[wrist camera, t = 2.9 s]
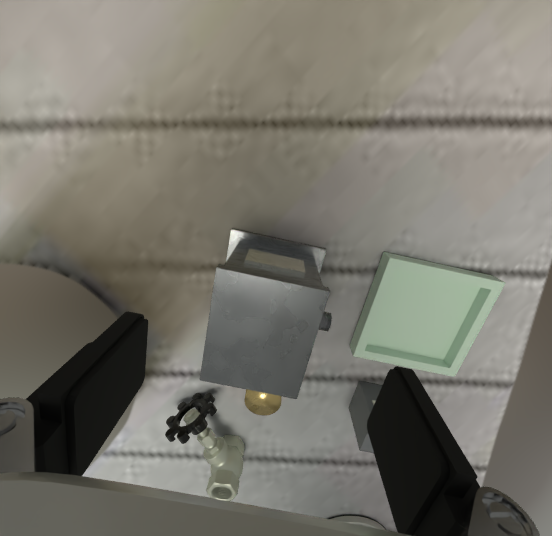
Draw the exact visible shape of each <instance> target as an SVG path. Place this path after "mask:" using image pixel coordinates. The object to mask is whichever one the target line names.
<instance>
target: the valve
mask: <svg viewBox="0 0 552 536" xmlns="http://www.w3.org/2000/svg"><path fill="white" fill-rule="evenodd" d="M192 399H193V400H192V401H191V402H190V403H188V404H186V403H185V402H182V403H180V404H179V405H178V407H177V408H178V410H179V412H178V414H177V415H176V416H171V417H169V418H168V419H167V421H166V424H167V425H168V426H169V428H170V429H169V430H167V432H166V434H165V436H166V437H167V438H168V440H169V441H170V442H172V441H174V440H175V437H174V436H175V434H177V433H178V434H177V438H178V439H179V441H180V442H181V443H182V444H184V443H186V442H187V441H188V440H189V438H190V437H189V436H188V434H189V433H191V432H192V434H194V435H198V438H197V440H198V441H199V442H200V444H201V445H202V446H204V447H205V450H204V458H205V459H206V460H207V462H208V463H209V464H211V477H210V478H209V482H208V486H207V490H206V491H207V493H208V495H209V496H210V498H214V499H219V500H225V501H231V500H233V499H234V498H235V496H236V495H237V494H238V487H239V478H240V476H241V474H242V470H243V459H242V456H243V454H244V447H245V445H244V443H243V442H242V440H241V439H240V437H239V436H233V435H225V436H224V437H223V438H222V437H217V438H215V434H214V433H213V431H212V430H211V429H210V428H207V425H208V424H207V421H206V420H205V417H206V416H207V414H209V413H210V415H211V416H213V415H214V414H215V413H216V411H217V409H216V407H215V406H214V404H213V402H214V401H215V398H214V397H213V395H212V394H211V393H208V394H206V395H205V396H204V398H203V397H202V395H201V394H200V393H196V394H195V395H194V396H193V397H192ZM210 401H211V402H212V403H209V402H210ZM208 403H209V404H208ZM194 407H195V408H196V409H197V410H196V409H192V408H194ZM190 409H192V410H190ZM189 410H190V411H189ZM185 414H186V415H185ZM184 415H185V417H184V421H185V422H186V426H183V427H180V426H179V425H180V421H181V419H182V417H183V416H184Z"/></svg>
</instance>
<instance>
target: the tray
mask: <svg viewBox="0 0 552 536" xmlns="http://www.w3.org/2000/svg"><path fill="white" fill-rule="evenodd" d="M504 285H505V282H503V281H501V280H499V279H498V278H496V277H494V276H492V275H487V274H483V273H478V272H474V271H469V270H465V269H460V268H455V267H451V266H446V265H442V264H437V263H433V262H428V261H423V260H419V259H414V258H410V257H405V256H401V255H396V254H391V253H387V252H383V255H382V258H381V260H380V263H379V266H378V269H377V271H376V274H375V277H374V280H373V282H372V285H371V288H370V291H369V293H368V296H367V299H366V302H365V304H364V307H363V310H362V313H361V316H360V318H359V321H358V324H357V327H356V329H355V332H354V335H353V338H352V340H351V343H350V348H351V351H352V354H353V356H354V357H359V358H364V359H369V360H374V361H379V362H384V363H389V364H394V365H399V366H403V367H408V368H413V369H418V370H423V371H428V372H433V373H438V374H443V375H448V376H452V377H455V375H456V373H457V372H458V370H459V368H460V366H461V364H462V362H463V361H464V359H465V357H466V355H467V353H468V351H469V350H470V348H471V346H472V344H473V342H474V340H475V338H476V337H477V335H478V333H479V331H480V329H481V327H482V326H483V324H484V322H485V320H486V318H487V316H488V314H489V313H490V311H491V309H492V307H493V305H494V303H495V302H496V300H497V298H498V296H499V294H500V292H501V291H502V289H503V287H504Z"/></svg>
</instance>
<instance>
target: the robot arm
mask: <svg viewBox="0 0 552 536" xmlns="http://www.w3.org/2000/svg"><path fill="white" fill-rule="evenodd" d="M147 332H148V320H147V319H144V315H143V314H138V313H133V312H125V313H124V314H123V315H122V316H121V317H120V318H119V319H117V321H115V322H114V323H113V324H112V325H111V326H110V327H109V328H108V329H107V330H106V331H104V332H103V334H101V335H100V336H99V337H98V338H97V339H96V340H95V341H94V342H91V343H88V344H87V345H85V346H84V347H83V348H82V349H81V350H80V351H79V352H78V353H76V354H75V355H74V356H73V357H72V358H71V359H70V360H69V361H68V362H66V363H65V364H64V365H63V366H62V367H61V368H60V369H59V370H58V371H56V372H55V373H54V374H53V375H52V376H51V377H50V378H49V379H48V380H47V381H45V382H44V383H43V384H42V385H41V386H40V387H39V388H38V389H37V390H35V391H34V392H33V393H32V394H31V395H30V396H29V397H28V398H27V399H23V398H19V397H16V398H15V397H8V398H3V399H0V536H540V534H539V531H538V529H537V528H536V526H535V524H534V522H533V521H532V519H531V518H530V517H529V515H528V514H527V513H526V512H525V511H524V510H523V509H522V508H521V507H520V506H519V504H517V503H516V502H515V501H514V500H513V499H511V498H510V497H509V496H507V495H506V494H504V493H502V492H501V491H499V490H497V489H494V488H491V487H484V486H483V487H481V488H480V486H479V484H478V483H477V481H476V478H477V475H476V473H475V472H474V470H473V468H472V467H471V465H470V463H469V462H468V460H467V458H466V457H465V455H464V454H463V452H462V450H461V449H460V447H459V445H458V444H457V442H456V440H455V439H454V437H453V435H452V434H451V432H450V430H449V429H448V427H447V425H446V424H445V422H444V420H443V419H442V417H441V415H440V414H439V412H438V411H437V409H436V407H435V406H434V404H433V402H432V401H431V399H430V397H429V396H428V394H427V392H426V391H425V389H424V387H423V386H422V384H421V382H420V381H419V379H418V377H417V376H416V374H415V372H414V371H413V370H412V369H408V368H403V367H398V366H397V367H395V368H394V369H390V370H389V372H388V374H387V376H386V379H385V381H384V383H383V386H382V388H381V390H380V392H379V395H378V397H377V399H376V402H375V404H374V406H373V408H372V411H371V413H370V415H369V418H368V420H367V431H368V434H369V438H370V441H371V444H372V448H373V451H374V454H375V458H376V461H377V465H378V468H379V471H380V475H381V478H382V481H383V485H384V488H385V491H386V495H387V498H388V502H389V505H390V508H391V512H392V515H393V518H394V522H395V525H396V528H397V531H398V533H397V532H392V531H387V530H385V529H384V527H382V526H381V525H380V524H379V523H377V522H375V521H373V520H371V519H368V518H365V517H360V516H341V517H336V518H332V519H323V518H318V517H313V516H307V515H302V514H296V513H291V512H285V511H280V510H274V509H269V508H264V507H258V506H252V505H247V504H241V503H236V502H230V501H225V500H219V499H214V498H208V497H202V496H197V495H191V494H185V493H180V492H174V491H168V490H162V489H157V488H151V487H145V486H140V485H134V484H128V483H122V482H115V481H109V480H102V479H96V478H89V477H83V476H82V475H83V474H84V472H85V471H86V469H87V468H88V466H89V465H90V463H91V462H92V460H93V459H94V457H95V456H96V454H97V453H98V451H99V450H100V448H101V447H102V445H103V444H104V442H105V440H106V439H107V437H108V436H109V434H110V433H111V431H112V430H113V428H114V427H115V425H116V424H117V422H118V421H119V419H120V417H121V416H122V415H123V413H124V412H125V410H126V409H127V407H128V405H129V404H130V402H131V401H132V399H133V398H134V396H135V395H136V393H137V392H138V390H139V389H140V387H141V386H142V383H143V381H144V377H145V364H146V348H147Z"/></svg>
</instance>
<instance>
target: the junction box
mask: <svg viewBox="0 0 552 536" xmlns="http://www.w3.org/2000/svg"><path fill="white" fill-rule="evenodd" d="M325 253H326V249H325V248H320V247H315V246H311V245H306V244H302V243H297V242H292V241H288V240H283V239H279V238H274V237H269V236H265V235H260V234H256V233H251V232H246V231H242V230H237V229H233V228H232V229H231V234H230V241H229V247H228V253H227V259H226V263H225V265H221V264H219V265H218V266H217V268H216V273H215V280H214V287H213V294H212V300H211V307H210V314H209V321H208V327H207V334H206V341H205V348H204V354H203V361H202V368H201V375H200V380H202V381H207V382H212V383H217V384H222V385H227V386H232V387H237V388H242V389H248V390H253V391H258V392H263V393H268V394H273V395H278V396H283V397H288V398H293V399H297V397H298V393H299V390H300V387H301V384H302V381H303V377H304V374H305V371H306V368H307V364H308V361H309V358H310V355H311V351H312V348H313V345H314V342H315V338H316V335H317V332H318V329H319V330H324V331H328V330H329V328H330V325H331V319H332V316H331V313H328V312H324V309H325V306H326V303H327V300H328V296H329V293H330V291H329V288H328V287H324V286H322V282H321V279H320V275H319V274H320V270H321V267H322V263H323V260H324V256H325Z"/></svg>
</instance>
